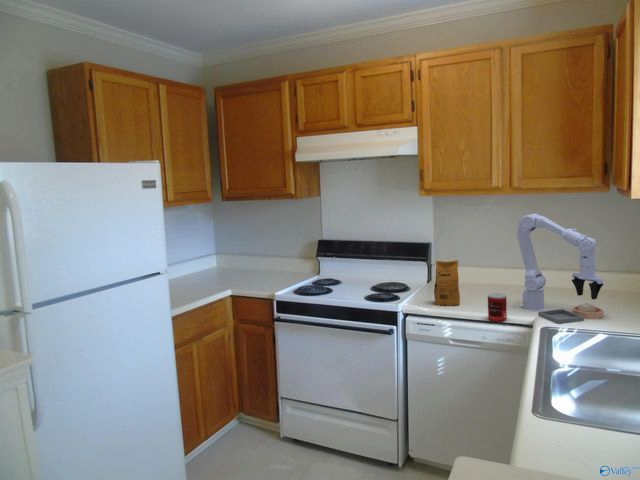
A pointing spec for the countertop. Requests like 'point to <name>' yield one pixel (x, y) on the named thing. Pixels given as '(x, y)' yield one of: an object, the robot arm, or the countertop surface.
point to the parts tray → (561, 316)
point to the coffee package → (447, 283)
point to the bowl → (589, 313)
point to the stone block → (586, 307)
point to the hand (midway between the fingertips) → (587, 297)
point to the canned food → (497, 307)
